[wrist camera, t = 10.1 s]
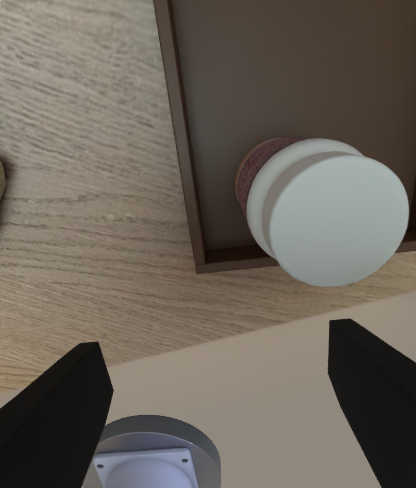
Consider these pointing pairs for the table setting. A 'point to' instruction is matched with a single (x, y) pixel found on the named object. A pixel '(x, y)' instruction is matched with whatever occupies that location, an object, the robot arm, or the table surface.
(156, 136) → the table surface
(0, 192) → the pastry
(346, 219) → the pill bottle
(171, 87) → the tray
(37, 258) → the table surface
